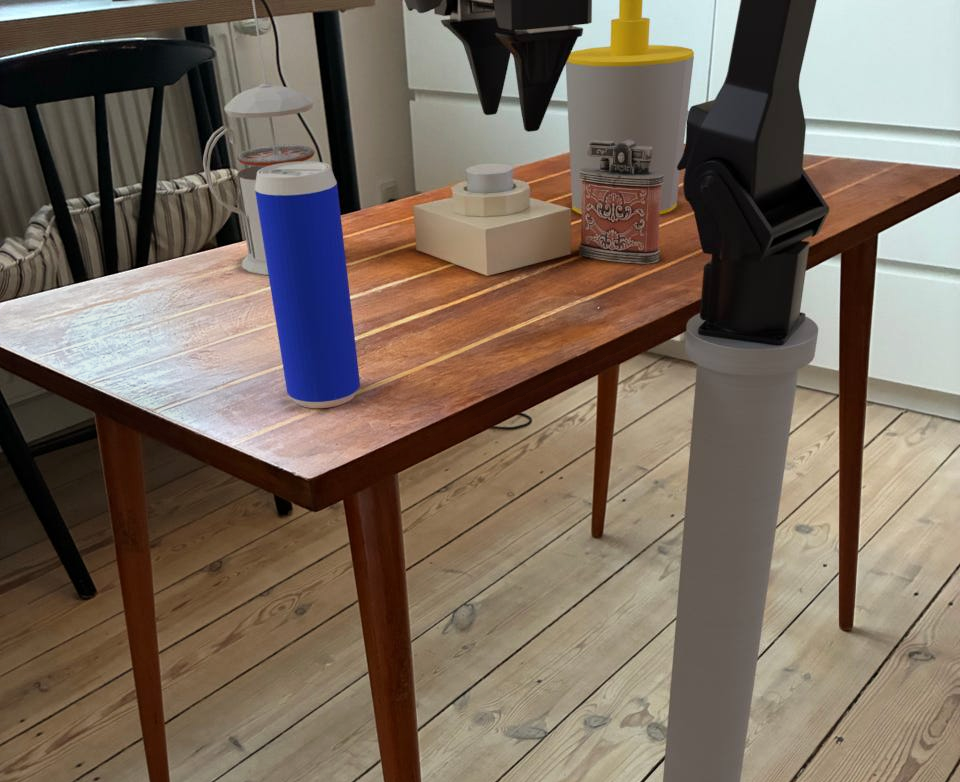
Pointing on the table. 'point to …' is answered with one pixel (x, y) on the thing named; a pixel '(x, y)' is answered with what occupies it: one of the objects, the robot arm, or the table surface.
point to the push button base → (493, 229)
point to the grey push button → (489, 178)
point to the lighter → (620, 204)
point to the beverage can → (308, 281)
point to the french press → (259, 154)
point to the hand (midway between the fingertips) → (510, 122)
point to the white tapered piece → (629, 100)
